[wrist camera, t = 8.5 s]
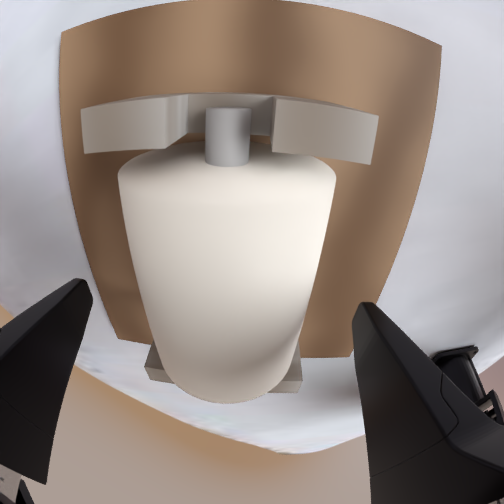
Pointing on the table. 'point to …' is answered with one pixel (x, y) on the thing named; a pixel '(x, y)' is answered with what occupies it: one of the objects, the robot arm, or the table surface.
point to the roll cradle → (253, 134)
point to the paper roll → (225, 254)
